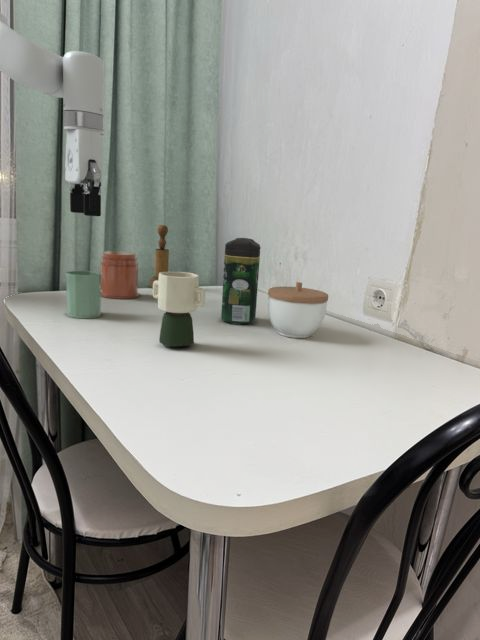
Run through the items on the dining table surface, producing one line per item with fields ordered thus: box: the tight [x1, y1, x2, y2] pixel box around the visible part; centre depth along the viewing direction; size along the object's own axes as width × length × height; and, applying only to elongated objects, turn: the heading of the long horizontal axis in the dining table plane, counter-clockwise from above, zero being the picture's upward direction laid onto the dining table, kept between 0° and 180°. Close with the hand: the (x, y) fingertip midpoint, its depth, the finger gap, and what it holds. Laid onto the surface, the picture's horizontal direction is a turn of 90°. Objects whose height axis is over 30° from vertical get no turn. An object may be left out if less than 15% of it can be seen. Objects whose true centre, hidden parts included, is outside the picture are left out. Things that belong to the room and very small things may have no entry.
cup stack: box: [100, 250, 139, 300], centre depth 131 cm, size 10×10×11 cm
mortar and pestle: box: [149, 224, 170, 289], centre depth 147 cm, size 7×6×18 cm
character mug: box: [152, 271, 206, 348], centre depth 90 cm, size 11×7×13 cm, turn 64°
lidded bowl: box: [267, 281, 329, 339], centre depth 107 cm, size 13×13×11 cm
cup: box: [65, 270, 102, 319], centre depth 108 cm, size 7×7×9 cm
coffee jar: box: [220, 237, 262, 325], centre depth 113 cm, size 10×8×19 cm
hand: (85, 214), depth 104 cm, fingers open, 9 cm apart
